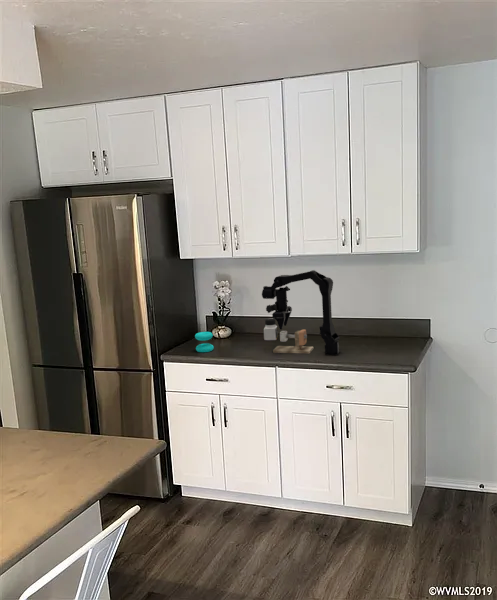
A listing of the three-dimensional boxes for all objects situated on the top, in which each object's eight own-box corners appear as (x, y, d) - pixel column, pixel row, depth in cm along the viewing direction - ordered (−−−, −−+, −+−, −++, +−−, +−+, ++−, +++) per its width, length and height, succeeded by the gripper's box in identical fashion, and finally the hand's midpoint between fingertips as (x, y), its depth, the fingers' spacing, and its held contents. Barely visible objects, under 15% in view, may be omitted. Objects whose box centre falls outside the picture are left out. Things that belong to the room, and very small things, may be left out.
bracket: (313, 348, 328) (312, 329, 327) (309, 353, 319) (308, 334, 317) (278, 347, 335) (277, 329, 333) (273, 352, 325) (272, 333, 324)
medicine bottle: (276, 340, 353) (275, 320, 351) (264, 340, 355) (263, 320, 353) (278, 337, 360) (277, 317, 358) (266, 337, 362) (265, 317, 360)
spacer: (306, 342, 327) (306, 329, 326) (303, 345, 321) (303, 332, 320) (302, 342, 328) (301, 329, 327) (299, 345, 321) (298, 332, 320)
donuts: (191, 333, 339) (207, 330, 344) (193, 350, 341) (208, 347, 346) (199, 336, 331) (215, 333, 336) (200, 353, 332) (217, 350, 337)
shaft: (307, 340, 325) (306, 331, 325) (305, 341, 322) (305, 332, 321) (282, 339, 330) (281, 330, 329) (280, 341, 326) (279, 332, 325)
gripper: (271, 296, 335) (273, 323, 337) (262, 302, 317) (263, 331, 320) (291, 296, 331) (292, 323, 334) (282, 302, 314) (284, 331, 316)
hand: (283, 327), depth 326 cm, fingers open, 9 cm apart
